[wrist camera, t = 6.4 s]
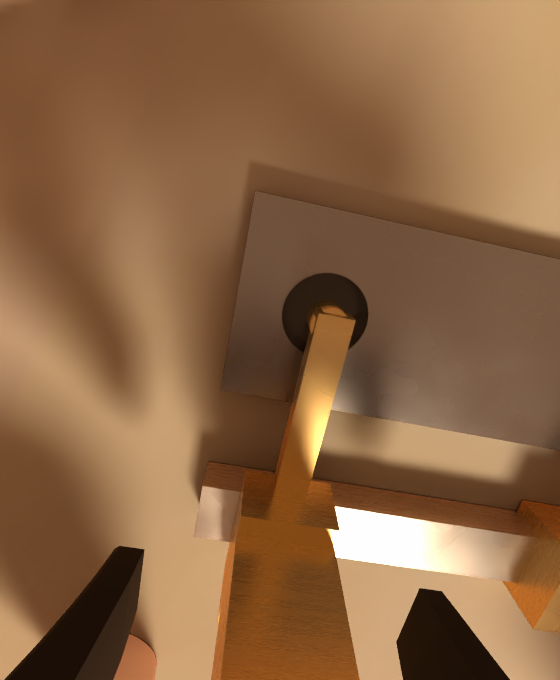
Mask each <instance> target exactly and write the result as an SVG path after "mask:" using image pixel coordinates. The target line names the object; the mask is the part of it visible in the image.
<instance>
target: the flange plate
mask: <svg viewBox="0 0 560 680" xmlns="http://www.w3.org/2000/svg"><path fill="white" fill-rule="evenodd" d="M320 300H331V301H334V302H335V303H337V304H338V305H339V306H340V308H341V309H342V310H343V311H344V312H345V313H350V314H351V315H352V317H353V318H354V319H355V320H356V322H355V325H354V329H353V332H352V336H351V340H350V343H349V347H348V350H347V354H346V357H345V361H344V364H343V368H342V372H341V375H340V379H339V382H338V386H337V389H336V393H335V396H334V400H333V404H332V407H331V410H337V411H342V412H348V413H353V414H359V415H365V416H370V417H376V418H381V419H387V420H393V421H398V422H404V423H410V424H415V425H421V426H426V427H432V428H438V429H443V430H449V431H454V432H460V433H466V434H471V435H477V436H482V437H488V438H494V439H499V440H505V441H511V442H516V443H522V444H527V445H533V446H539V447H544V448H550V449H555V450H560V259H556V258H551V257H547V256H542V255H538V254H534V253H529V252H525V251H520V250H516V249H511V248H507V247H502V246H498V245H494V244H489V243H485V242H480V241H476V240H471V239H467V238H463V237H458V236H454V235H449V234H445V233H440V232H436V231H432V230H427V229H423V228H418V227H414V226H409V225H405V224H400V223H396V222H392V221H387V220H383V219H378V218H374V217H369V216H365V215H361V214H356V213H352V212H347V211H343V210H338V209H334V208H330V207H325V206H321V205H316V204H312V203H307V202H303V201H298V200H294V199H290V198H285V197H281V196H276V195H272V194H267V193H263V192H259V191H255V196H254V201H253V207H252V213H251V218H250V224H249V230H248V236H247V241H246V247H245V253H244V258H243V264H242V270H241V275H240V281H239V287H238V292H237V298H236V304H235V310H234V315H233V321H232V327H231V332H230V338H229V344H228V349H227V355H226V361H225V367H224V372H223V378H222V384H221V389H220V390H224V391H230V392H236V393H241V394H247V395H252V396H258V397H264V398H269V399H275V400H280V401H286V402H292V401H293V397H294V392H295V388H296V384H297V380H298V376H299V372H300V368H301V364H302V360H303V355H304V351H305V347H306V343H307V339H308V335H309V331H310V329H309V326H308V323H307V313H308V310H309V309H310V307H311V306H312V305H313V304H314V303H316V302H317V301H320Z"/></svg>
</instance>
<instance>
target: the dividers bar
mask: <svg viewBox="0 0 560 680" xmlns="http://www.w3.org/2000/svg"><path fill="white" fill-rule="evenodd" d="M245 470H249V471H256V472H262V473H268V474H275V472H271V471H265V470H258V469H252V468H246V467H240V466H234V465H227V464H221V463H215V462H209V463H208V466H207V470H206V474H205V478H204V482H203V486H202V492H201V497H200V503H199V509H198V514H197V520H196V526H195V532H194V537H200V538H207V539H214V540H221V541H228V542H230V540H231V535H232V530H233V526H234V521H235V516H236V512H237V507H238V502H239V498H240V493H241V488H242V484H243V479H244V474H245ZM311 481H318V482H324V483H330V486H331V491H332V496H333V500H334V505H335V509H336V514H337V518H338V523H339V527H340V533H339V536H338V539H337V542H336V546H335V554H336V557H339V558H346V559H353V560H360V561H367V562H374V563H381V564H388V565H395V566H402V567H409V568H416V569H423V570H430V571H437V572H444V573H451V574H457V575H464V576H471V577H478V578H485V579H492V580H499V581H503V583H504V584H505V586H506V587H507V589H508V591H509V592H510V594H511V595H512V597H513V598H514V600H515V602H516V603H517V605H518V606H519V608H520V609H521V611H522V613H523V614H524V616H525V617H526V619H527V620H528V622H529V624H530V625H531V627H532V628H533V629H534V630H542V631H549V632H557V633H560V506H555V505H549V504H543V503H537V502H531V501H525V500H522V502H521V504H520V506H519V508H518V510H517V511H512V510H506V509H500V508H494V507H488V506H481V505H475V504H469V503H463V502H457V501H450V500H444V499H438V498H432V497H426V496H420V495H413V494H407V493H401V492H395V491H389V490H382V489H376V488H370V487H364V486H358V485H351V484H345V483H339V482H333V481H327V480H320V479H314V478H311Z"/></svg>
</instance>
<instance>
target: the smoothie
mask: <svg viewBox="0 0 560 680" xmlns="http://www.w3.org/2000/svg"><path fill="white" fill-rule="evenodd" d="M156 666H157V661H156V657H155V654H154V652H153V651H152V649H151V648H150V647H149V646H148V645H147V644H146V643H145V642H143V641H142V640H140V639H139V638H137V637H135V636H133V635H130V634H129V637H128V640H127V643H126V646H125V649H124V652H123V656H122V659H121V662H120V664H119V667H118V669H117V672H116V674H115V677H114V679H113V680H155V673H156Z"/></svg>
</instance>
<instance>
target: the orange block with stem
mask: <svg viewBox="0 0 560 680" xmlns="http://www.w3.org/2000/svg"><path fill="white" fill-rule="evenodd" d="M355 322H356V320H355V319H354V318H353V317H352V315H351V314H350V313H345V312H344V311H343V310H342V309H341V308H340V306H339V305H338V304H337V303H335V302H334V301H331V300H320V301H317V302H316V303H314V304H313V305H312V306H311V307H310V309H309V310H308V313H307V323H308V326H309V329H310V331H309V335H308V339H307V343H306V347H305V351H304V355H303V360H302V364H301V368H300V372H299V376H298V380H297V384H296V388H295V392H294V397H293V401H292V405H291V409H290V413H289V417H288V421H287V425H286V429H285V433H284V438H283V442H282V446H281V450H280V454H279V458H278V462H277V466H276V470H275V474H268V473H262V472H256V471H249V470H245V474H244V479H243V484H242V488H241V493H240V498H239V502H238V507H237V512H236V516H235V521H234V526H233V530H232V535H231V540H230V544H229V549H228V554H227V558H226V563H225V569H224V577H223V584H222V592H221V599H220V606H219V614H218V621H217V622H219V624H218V632H217V639H216V647H215V654H214V662H213V670H212V677H211V680H359V675H358V670H357V664H356V659H355V654H354V649H353V643H352V638H351V633H350V628H349V622H348V617H347V612H346V607H345V601H344V596H343V591H342V586H341V580H340V575H339V570H338V565H337V559H336V554H335V546H336V542H337V539H338V536H339V533H340V527H339V523H338V518H337V514H336V509H335V505H334V500H333V496H332V491H331V486H330V483H324V482H318V481H311V478H312V475H313V471H314V468H315V464H316V460H317V457H318V453H319V450H320V446H321V443H322V439H323V436H324V432H325V428H326V425H327V421H328V418H329V414H330V411H331V407H332V404H333V400H334V396H335V393H336V389H337V386H338V382H339V379H340V375H341V372H342V368H343V364H344V361H345V357H346V354H347V350H348V347H349V343H350V340H351V336H352V332H353V329H354V325H355Z"/></svg>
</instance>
